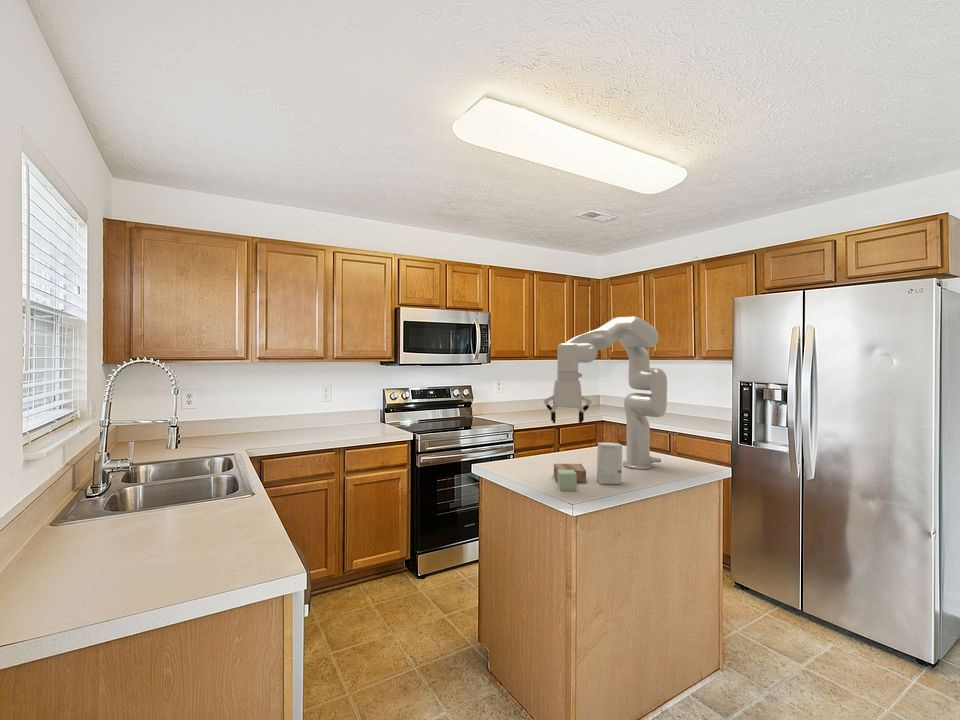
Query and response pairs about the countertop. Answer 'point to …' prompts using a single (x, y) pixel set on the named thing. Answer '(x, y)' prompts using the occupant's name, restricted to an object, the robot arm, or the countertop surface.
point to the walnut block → (576, 467)
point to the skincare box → (609, 463)
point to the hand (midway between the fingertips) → (567, 422)
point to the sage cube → (567, 479)
